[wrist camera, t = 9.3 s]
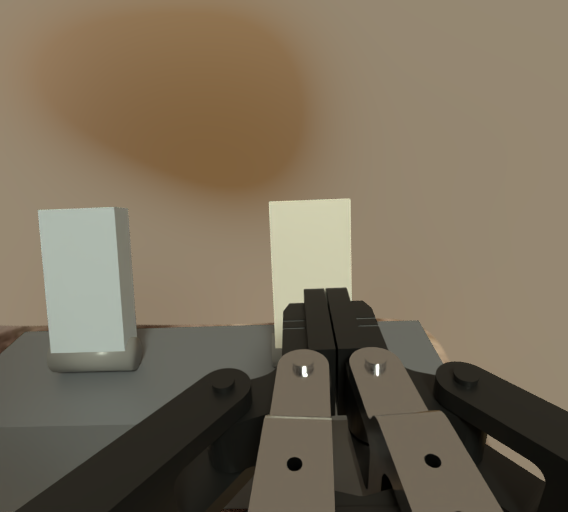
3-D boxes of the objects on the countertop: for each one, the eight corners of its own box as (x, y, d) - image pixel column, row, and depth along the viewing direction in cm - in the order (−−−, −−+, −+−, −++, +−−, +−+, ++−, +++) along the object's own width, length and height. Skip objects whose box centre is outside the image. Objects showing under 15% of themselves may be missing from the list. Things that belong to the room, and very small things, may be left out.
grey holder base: (-38, 512, 20) (-85, 429, 18) (53, 398, 28) (28, 329, 25) (456, 505, 19) (474, 417, 17) (409, 389, 27) (416, 317, 25)
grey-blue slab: (48, 377, 20) (32, 210, 19) (68, 365, 22) (54, 211, 21) (129, 375, 20) (117, 206, 19) (143, 363, 22) (132, 208, 21)
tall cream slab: (272, 372, 20) (264, 202, 18) (274, 358, 22) (267, 201, 20) (356, 370, 20) (354, 198, 18) (351, 356, 21) (349, 198, 20)
